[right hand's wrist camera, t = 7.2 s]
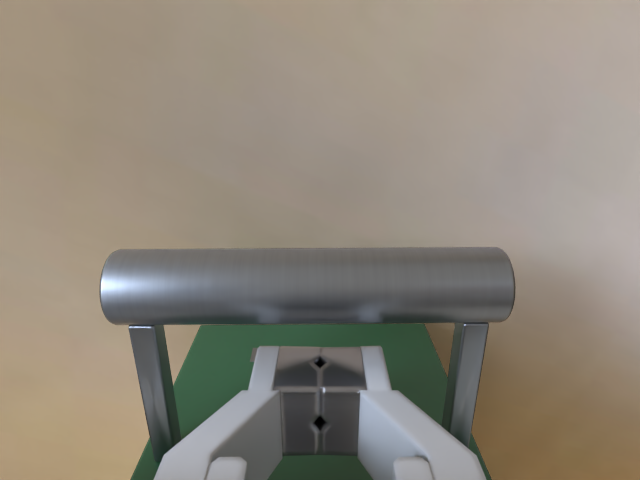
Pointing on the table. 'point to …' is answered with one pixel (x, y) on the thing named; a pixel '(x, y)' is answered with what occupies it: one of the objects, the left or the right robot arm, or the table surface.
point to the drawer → (304, 328)
